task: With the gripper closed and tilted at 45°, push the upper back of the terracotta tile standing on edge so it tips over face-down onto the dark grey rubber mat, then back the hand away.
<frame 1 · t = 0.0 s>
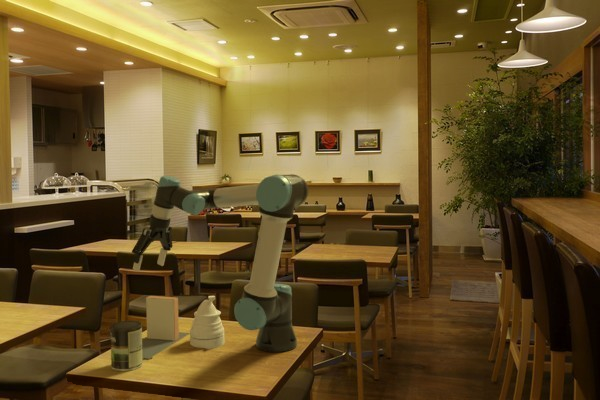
hand: (148, 267, 215), 28 cm above the table, tool tilted 20°, fingers open, 13 cm apart
honey pot: (207, 344, 210), on the table
tile: (163, 338, 215), resting on mat
mat: (154, 344, 209), on the table
coffee can: (127, 366, 187), on the table
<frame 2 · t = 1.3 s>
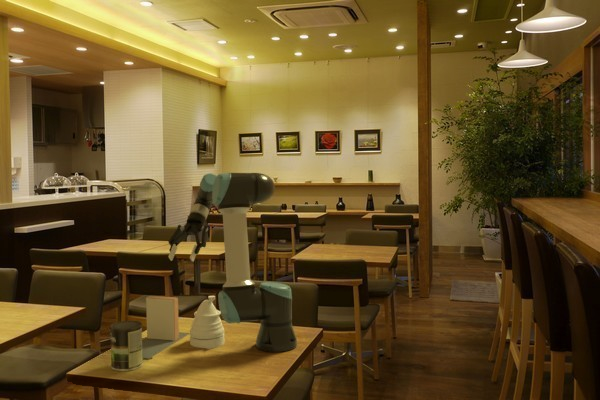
hand: (180, 259, 228), 29 cm above the table, tool tilted 45°, fingers open, 9 cm apart
nothing on the table moved.
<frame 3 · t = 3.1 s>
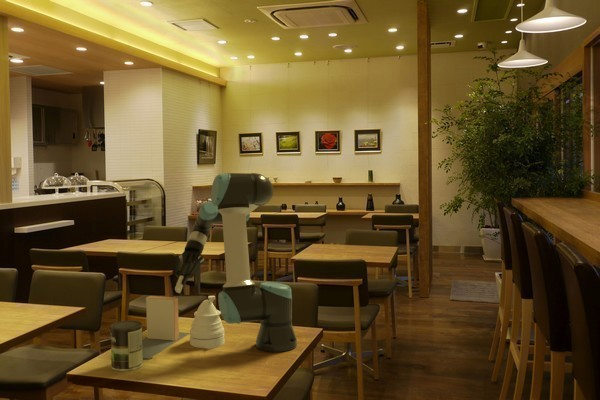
hand: (177, 291, 227), 16 cm above the table, tool tilted 45°, fingers closed
nothing on the table moved.
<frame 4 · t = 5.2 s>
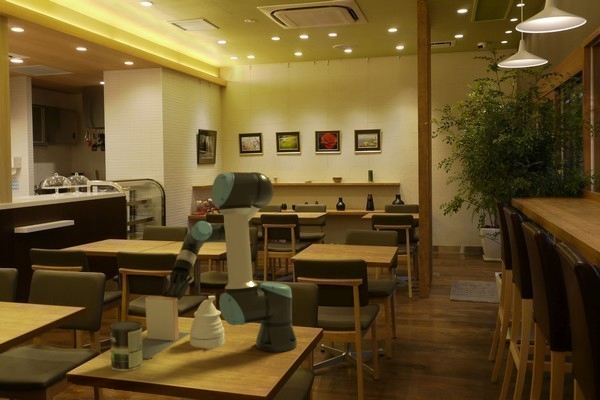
hand: (164, 313, 217), 10 cm above the table, tool tilted 45°, fingers closed
tile: (163, 338, 215), point 1 cm above the table, touching gripper, mat
everything else where it was.
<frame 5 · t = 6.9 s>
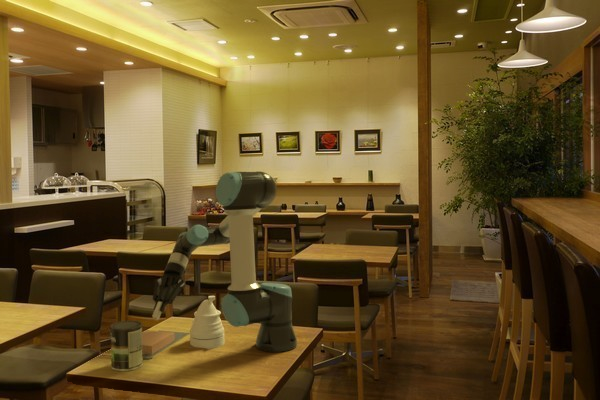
hand: (155, 318, 210), 10 cm above the table, tool tilted 45°, fingers closed
tile: (160, 335, 213), point 2 cm above the table, tilted 90°, touching mat
everything else where it was.
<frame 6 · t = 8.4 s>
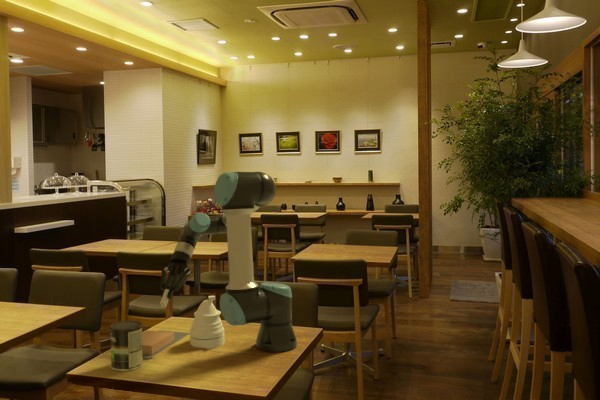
hand: (162, 305, 215), 13 cm above the table, tool tilted 45°, fingers closed
nothing on the table moved.
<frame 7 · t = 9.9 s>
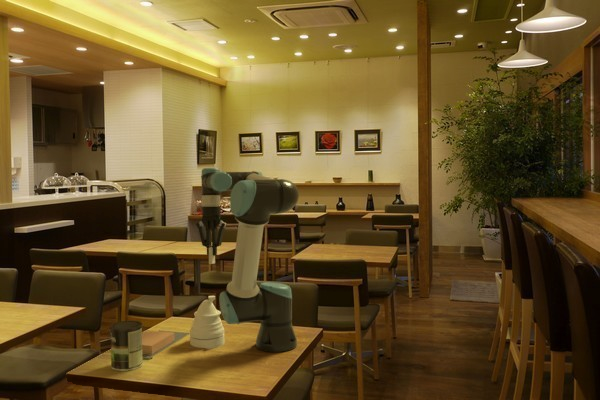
hand: (212, 263, 229), 27 cm above the table, tool pointing down, fingers closed
nothing on the table moved.
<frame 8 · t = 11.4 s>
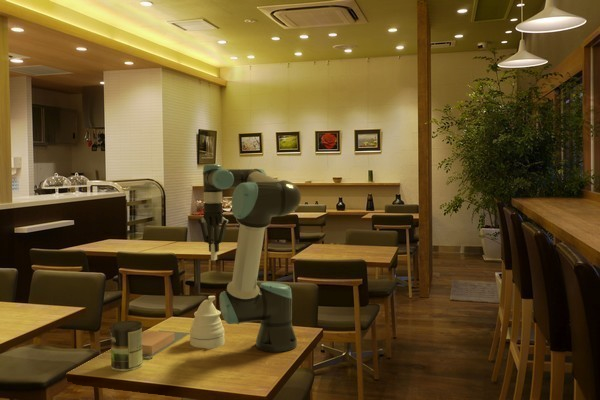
hand: (214, 259, 229), 28 cm above the table, tool pointing down, fingers closed
nothing on the table moved.
at the end: tile tilted 90°; tile inside the target area (0.4 cm from its centre), point 2.3 cm above the table; tile touching mat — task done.
